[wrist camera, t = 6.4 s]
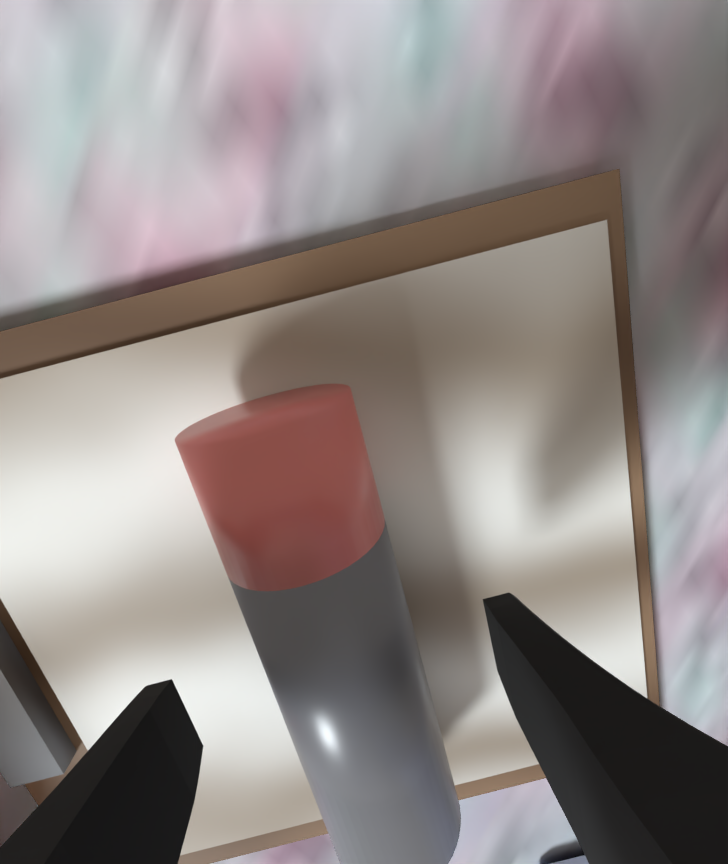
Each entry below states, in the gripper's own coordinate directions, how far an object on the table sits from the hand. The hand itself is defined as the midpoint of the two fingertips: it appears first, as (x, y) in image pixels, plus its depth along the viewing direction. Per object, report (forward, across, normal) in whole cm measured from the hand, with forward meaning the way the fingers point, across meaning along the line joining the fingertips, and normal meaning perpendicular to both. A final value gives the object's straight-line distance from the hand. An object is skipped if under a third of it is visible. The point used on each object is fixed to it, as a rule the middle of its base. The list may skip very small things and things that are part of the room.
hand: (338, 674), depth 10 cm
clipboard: (+3, +1, 0) cm, 4 cm away
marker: (+2, +1, 0) cm, 3 cm away
